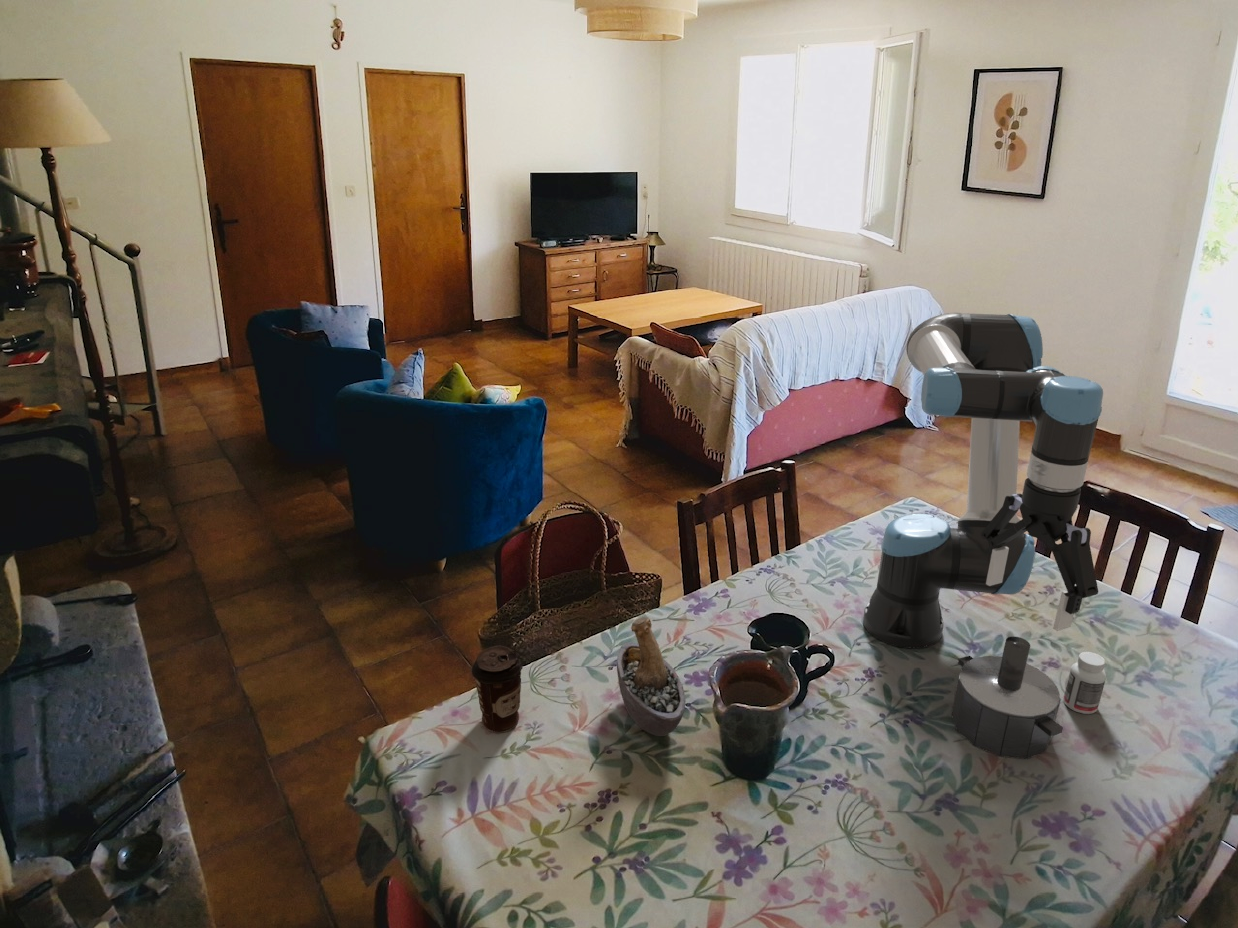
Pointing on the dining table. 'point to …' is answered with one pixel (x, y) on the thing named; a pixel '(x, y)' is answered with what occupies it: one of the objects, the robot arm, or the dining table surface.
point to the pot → (1001, 727)
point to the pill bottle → (1085, 683)
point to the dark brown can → (498, 687)
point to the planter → (649, 683)
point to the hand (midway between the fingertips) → (1026, 604)
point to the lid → (1010, 683)
